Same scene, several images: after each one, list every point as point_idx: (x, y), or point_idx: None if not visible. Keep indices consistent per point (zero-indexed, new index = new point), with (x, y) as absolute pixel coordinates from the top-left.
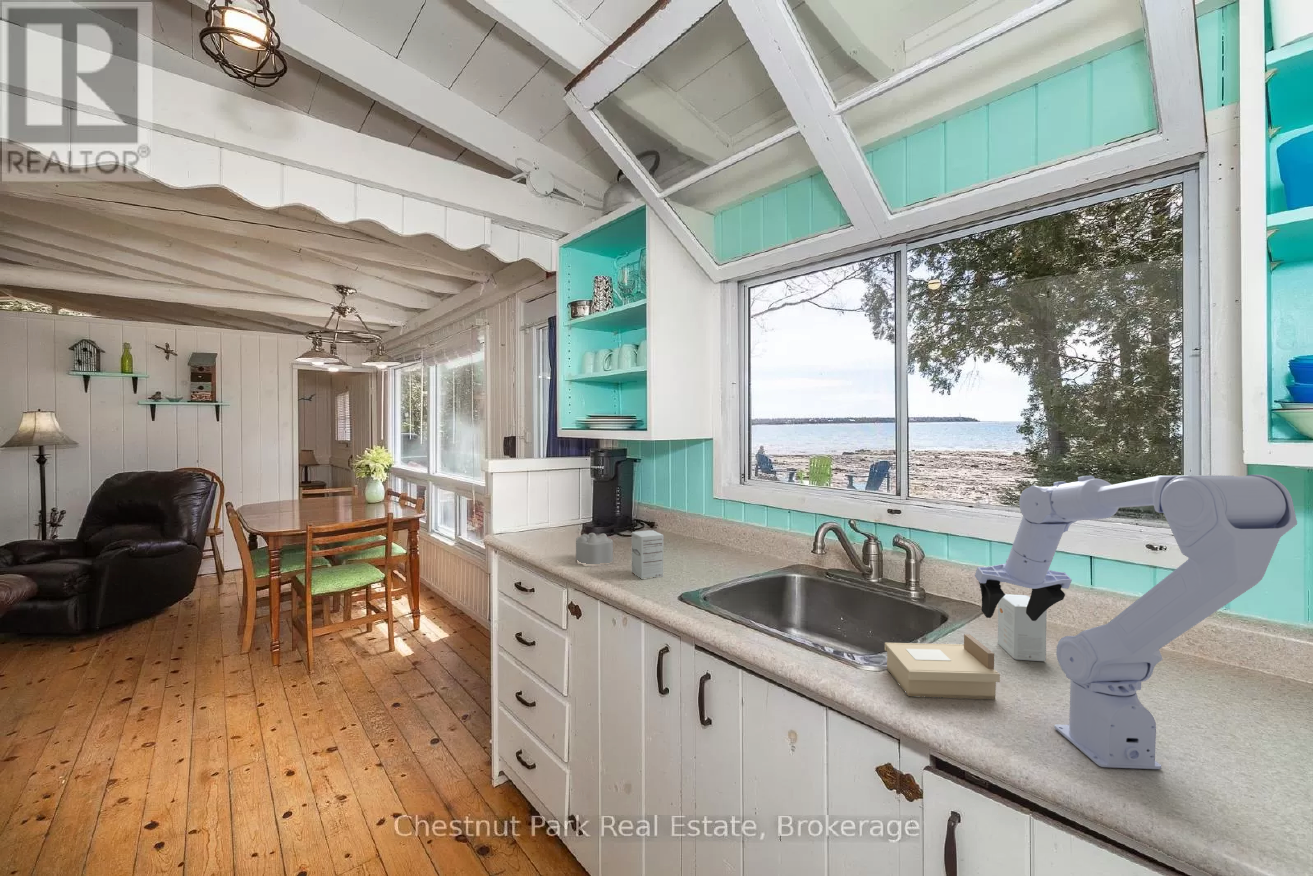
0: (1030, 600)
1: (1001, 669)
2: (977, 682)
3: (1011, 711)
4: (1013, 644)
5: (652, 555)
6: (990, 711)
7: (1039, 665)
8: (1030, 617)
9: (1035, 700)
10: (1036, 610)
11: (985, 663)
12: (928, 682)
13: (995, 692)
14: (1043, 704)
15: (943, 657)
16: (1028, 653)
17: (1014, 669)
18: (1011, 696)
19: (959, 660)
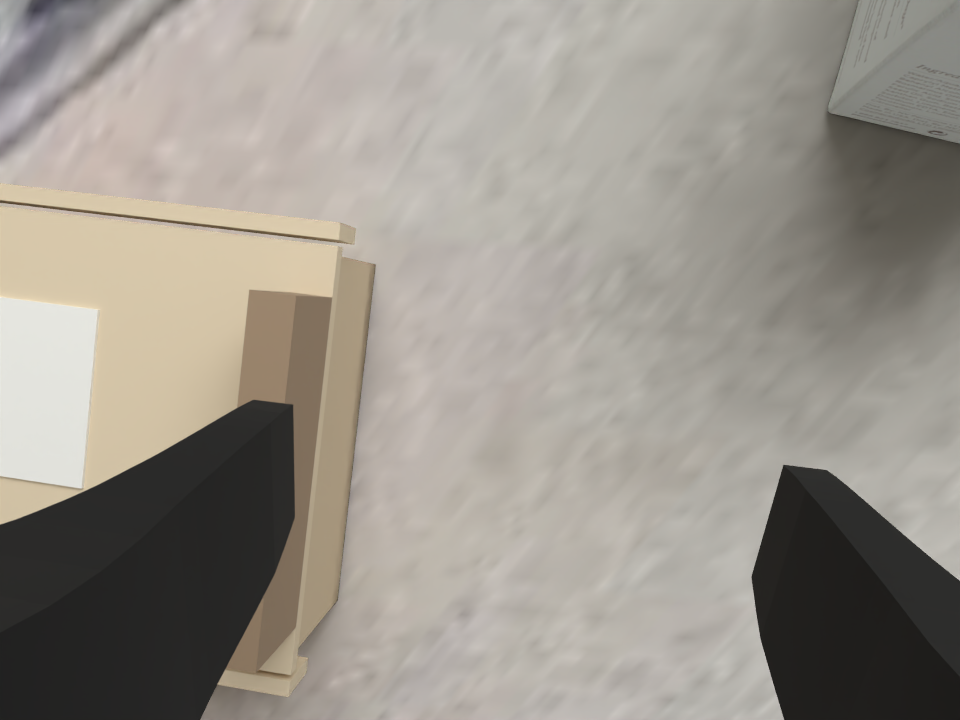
0: (851, 579)
1: (630, 247)
2: None
3: (344, 715)
4: (860, 70)
5: None
6: (237, 703)
7: (942, 204)
8: (765, 551)
9: (556, 627)
10: (793, 694)
11: None
12: None
13: (324, 615)
14: (568, 671)
15: (55, 438)
16: (936, 124)
17: (718, 252)
18: (452, 573)
19: None
